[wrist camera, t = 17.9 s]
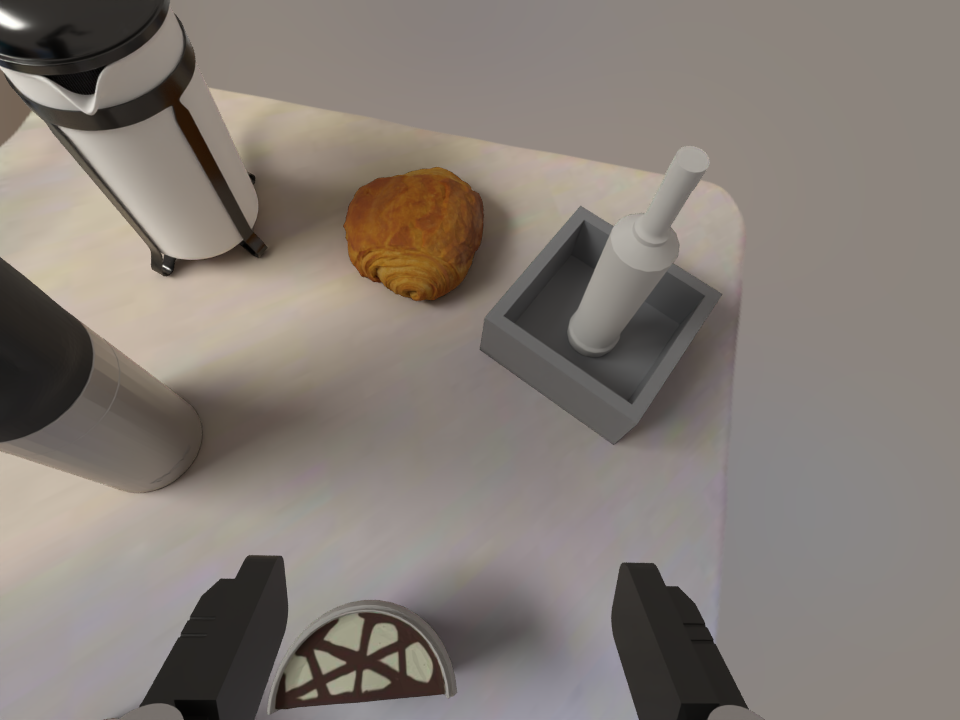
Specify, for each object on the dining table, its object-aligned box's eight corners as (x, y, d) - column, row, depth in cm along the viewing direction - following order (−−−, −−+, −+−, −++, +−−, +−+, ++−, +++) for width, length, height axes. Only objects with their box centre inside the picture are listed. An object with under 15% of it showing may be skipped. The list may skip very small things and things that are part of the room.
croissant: (492, 218, 65) (503, 163, 58) (457, 322, 57) (465, 272, 50) (375, 185, 65) (372, 127, 59) (323, 284, 57) (313, 230, 50)
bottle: (565, 311, 57) (647, 122, 34) (614, 315, 57) (730, 130, 34) (565, 357, 55) (652, 189, 32) (616, 361, 55) (740, 197, 32)
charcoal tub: (479, 349, 56) (484, 317, 49) (566, 246, 61) (580, 205, 55) (613, 444, 53) (637, 423, 46) (691, 327, 58) (722, 294, 52)
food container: (450, 593, 47) (452, 593, 38) (454, 676, 44) (457, 697, 35) (302, 604, 46) (266, 607, 37) (297, 690, 43) (258, 715, 34)
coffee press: (314, 206, 61) (210, -111, 34) (211, 310, 56) (-16, 32, 28) (197, 134, 64) (14, -211, 37) (87, 227, 59) (-229, -100, 31)
